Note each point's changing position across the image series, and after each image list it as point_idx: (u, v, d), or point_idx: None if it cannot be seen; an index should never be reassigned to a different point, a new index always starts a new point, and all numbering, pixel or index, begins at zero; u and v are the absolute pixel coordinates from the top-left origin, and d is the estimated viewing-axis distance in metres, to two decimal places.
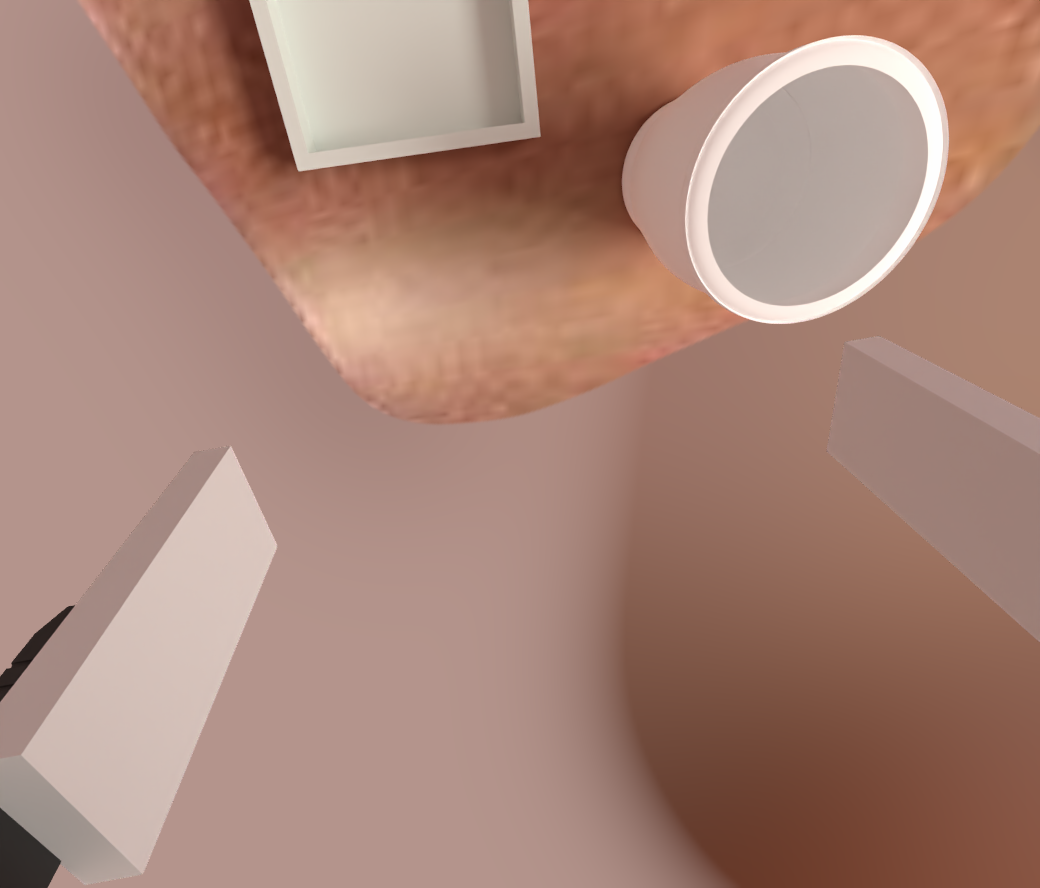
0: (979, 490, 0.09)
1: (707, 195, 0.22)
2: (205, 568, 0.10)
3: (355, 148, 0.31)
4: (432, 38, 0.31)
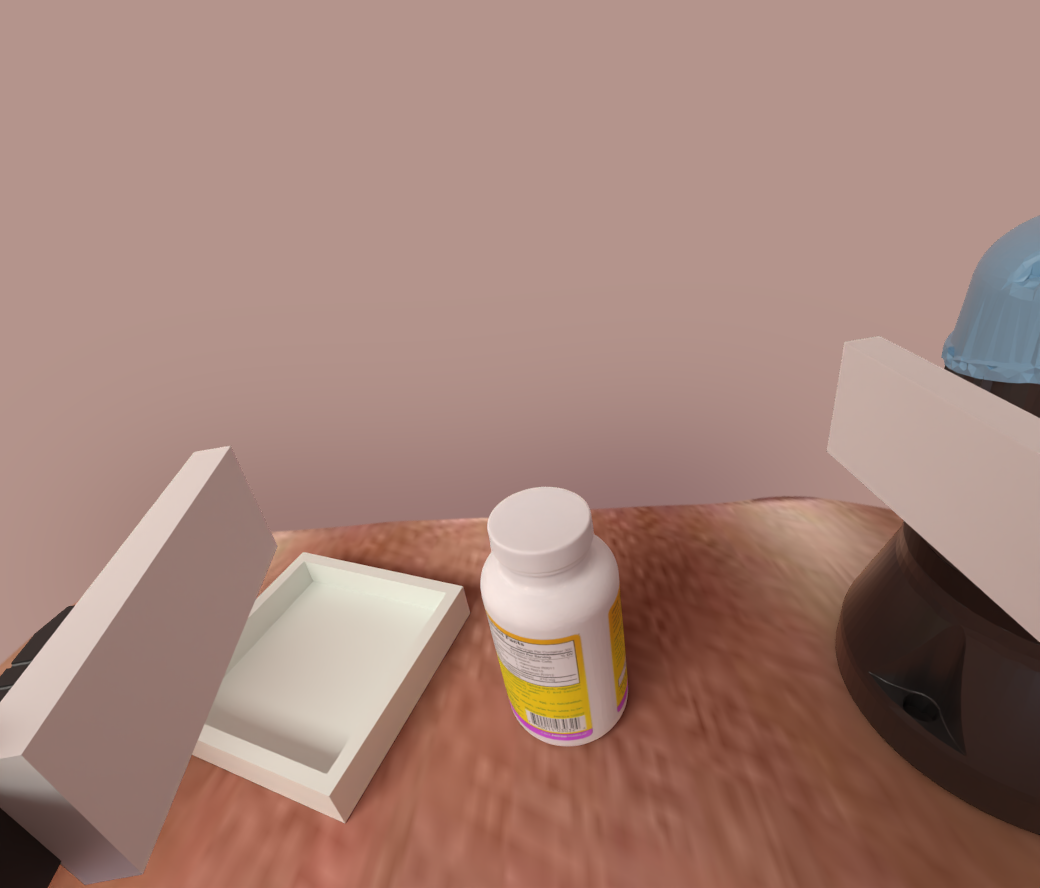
0: (979, 490, 0.09)
1: None
2: (205, 568, 0.10)
3: (278, 586, 0.39)
4: (286, 684, 0.34)
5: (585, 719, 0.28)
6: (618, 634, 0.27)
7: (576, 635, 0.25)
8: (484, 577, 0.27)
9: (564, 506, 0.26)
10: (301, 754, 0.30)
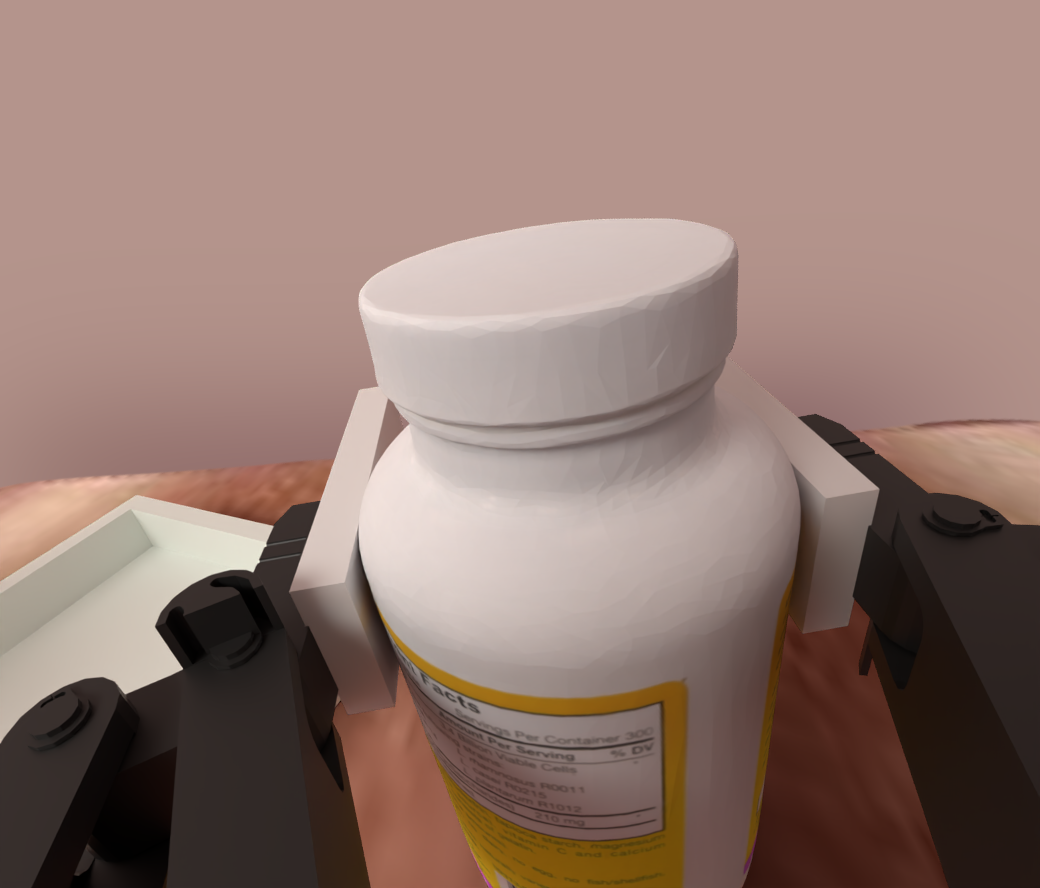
0: None
1: None
2: None
3: (65, 549, 0.21)
4: None
5: None
6: None
7: (675, 684, 0.06)
8: (368, 484, 0.09)
9: (630, 236, 0.07)
10: None
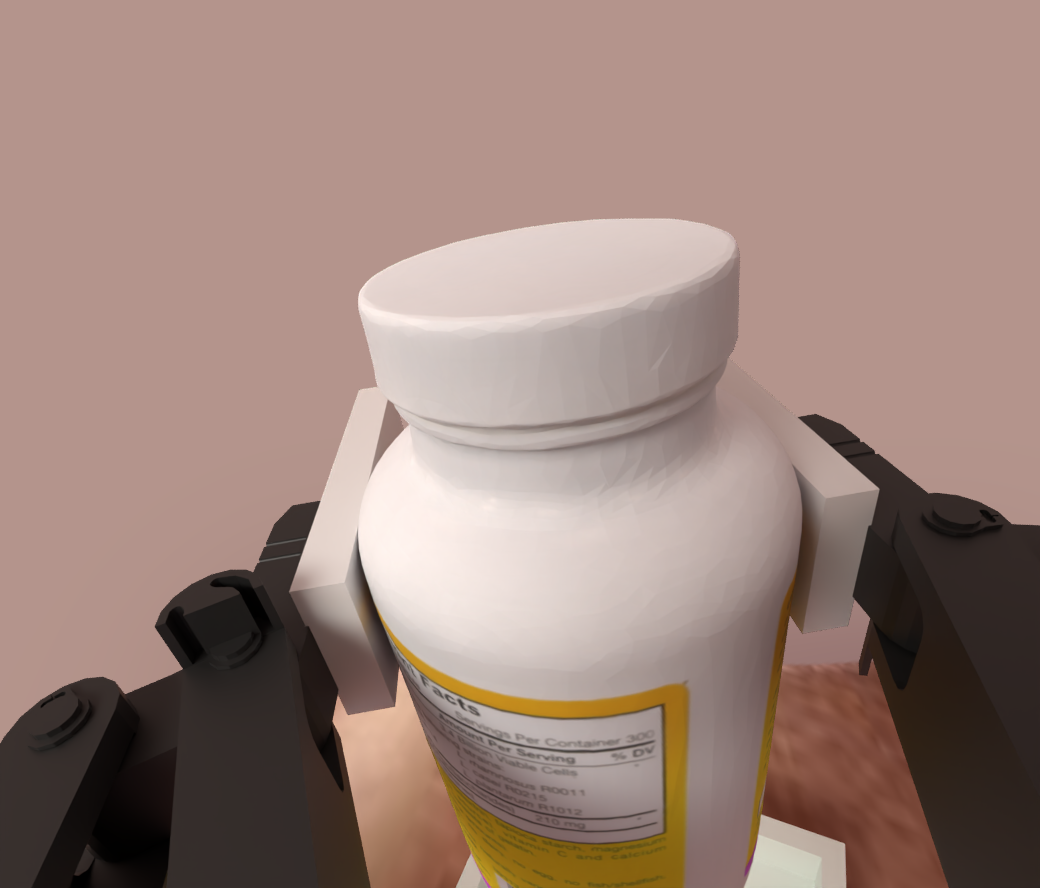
0: None
1: None
2: None
3: None
4: None
5: None
6: (780, 675, 0.09)
7: (677, 687, 0.06)
8: (368, 485, 0.09)
9: (632, 236, 0.07)
10: None
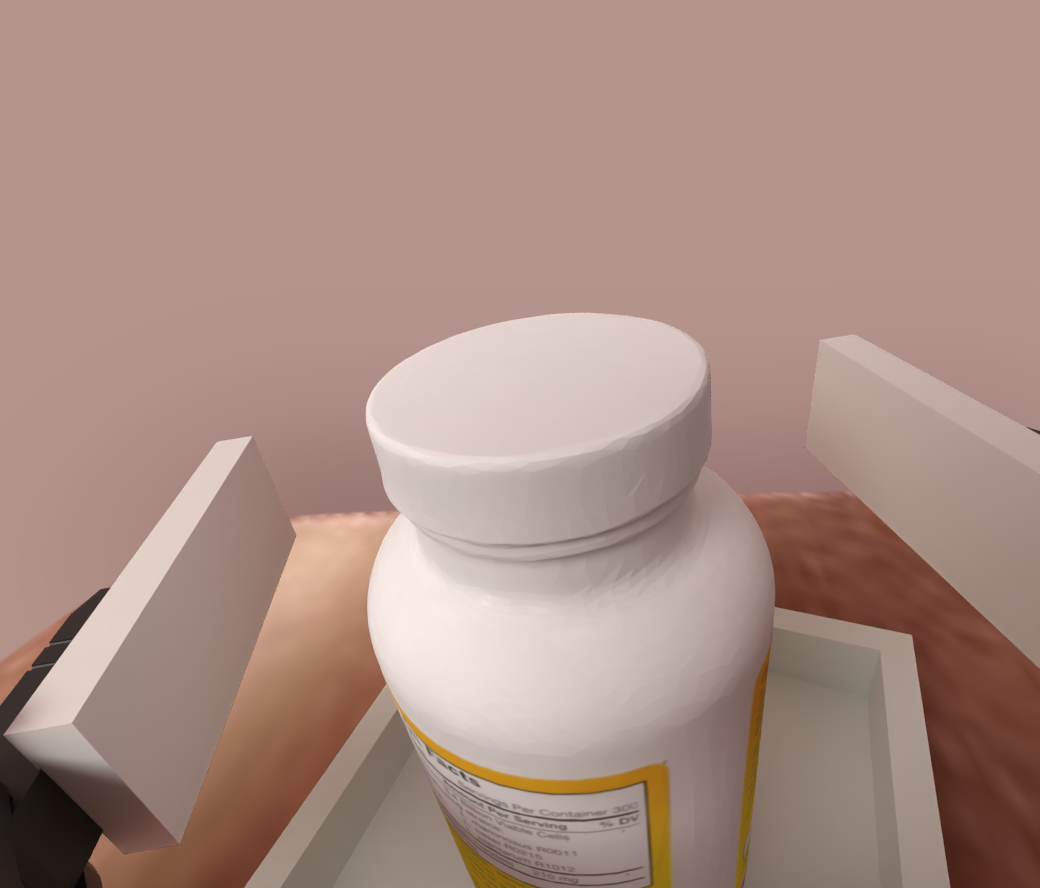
0: (943, 484, 0.09)
1: None
2: (231, 553, 0.10)
3: None
4: None
5: None
6: (760, 734, 0.09)
7: (657, 766, 0.07)
8: (376, 563, 0.09)
9: (615, 343, 0.08)
10: None
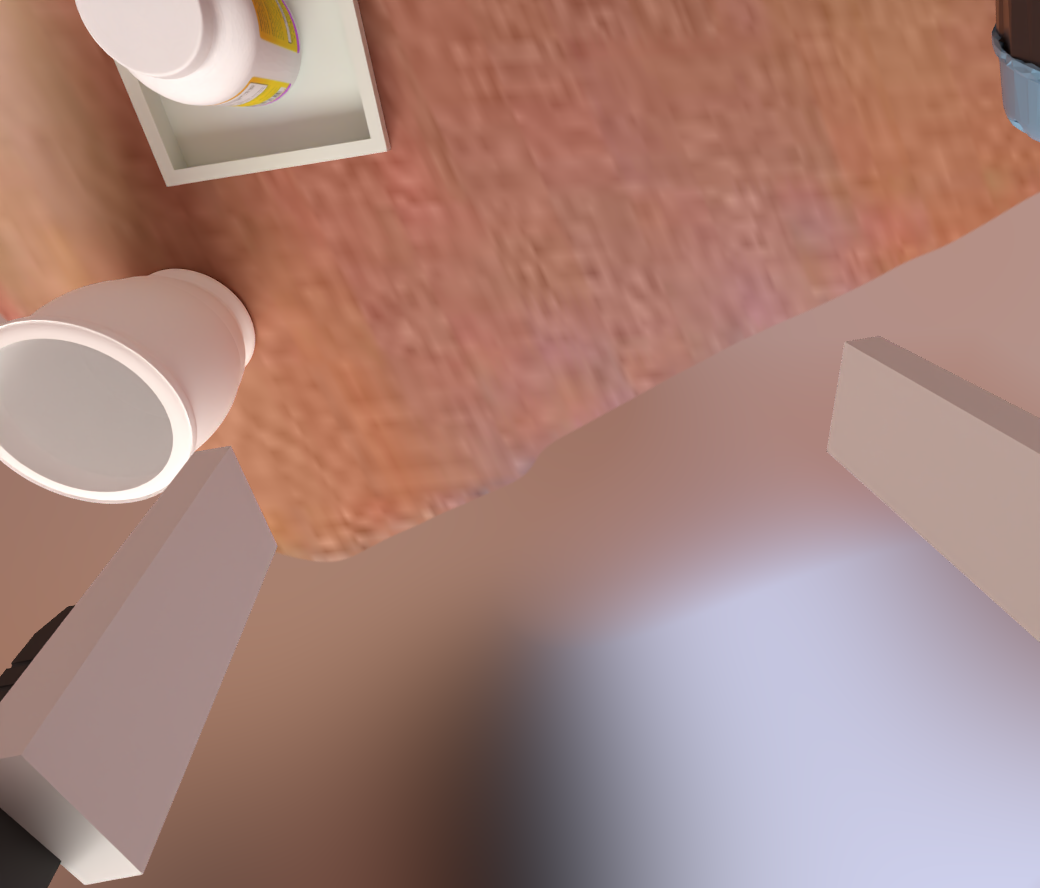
0: (979, 490, 0.09)
1: (41, 336, 0.26)
2: (205, 568, 0.10)
3: None
4: None
5: (282, 87, 0.32)
6: (271, 24, 0.28)
7: (251, 79, 0.27)
8: None
9: None
10: (316, 127, 0.36)
